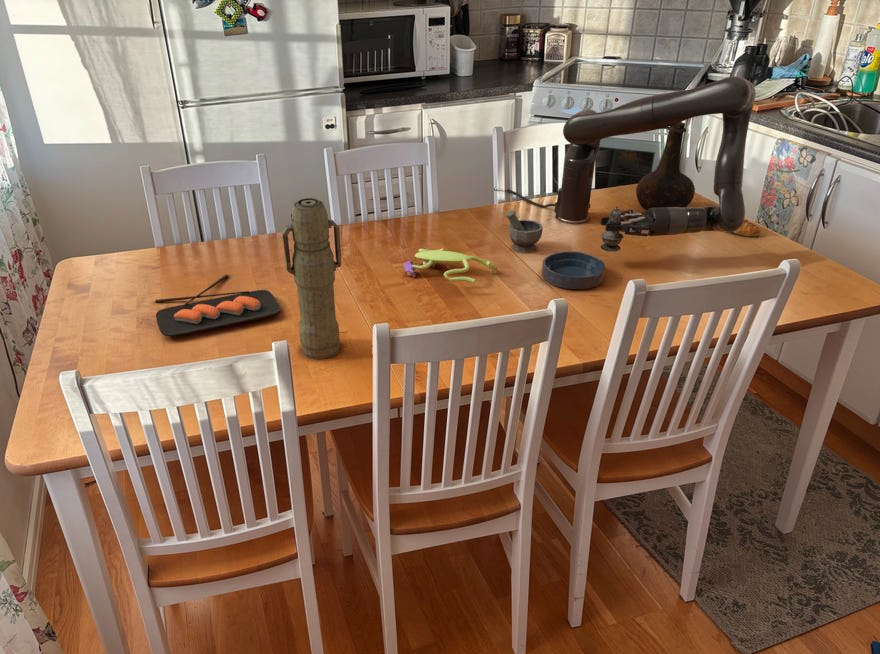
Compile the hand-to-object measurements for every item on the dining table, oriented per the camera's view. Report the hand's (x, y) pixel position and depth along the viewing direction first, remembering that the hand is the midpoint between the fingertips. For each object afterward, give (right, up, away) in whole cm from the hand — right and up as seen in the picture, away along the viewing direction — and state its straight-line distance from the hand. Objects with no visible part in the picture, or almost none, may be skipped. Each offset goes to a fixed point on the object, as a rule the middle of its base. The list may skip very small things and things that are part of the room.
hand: (603, 224), depth 195 cm
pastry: (+49, +2, +26) cm, 55 cm away
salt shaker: (+3, -6, +4) cm, 8 cm away
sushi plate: (-102, -23, -10) cm, 105 cm away
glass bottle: (+30, +12, +41) cm, 53 cm away
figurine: (-41, -13, +3) cm, 43 cm away
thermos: (-73, -34, -29) cm, 86 cm away
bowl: (-8, -14, +1) cm, 17 cm away
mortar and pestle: (-19, -4, +17) cm, 26 cm away
